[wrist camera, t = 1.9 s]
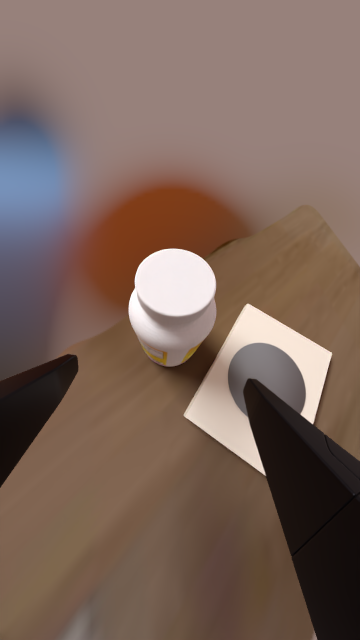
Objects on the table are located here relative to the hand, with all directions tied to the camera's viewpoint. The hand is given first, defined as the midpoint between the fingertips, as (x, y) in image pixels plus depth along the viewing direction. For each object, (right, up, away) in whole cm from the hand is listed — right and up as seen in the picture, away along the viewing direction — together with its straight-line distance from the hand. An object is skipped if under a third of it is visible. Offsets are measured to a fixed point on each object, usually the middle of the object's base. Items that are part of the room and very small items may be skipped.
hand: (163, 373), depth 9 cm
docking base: (+11, -5, +12) cm, 16 cm away
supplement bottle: (-1, 0, +13) cm, 13 cm away
